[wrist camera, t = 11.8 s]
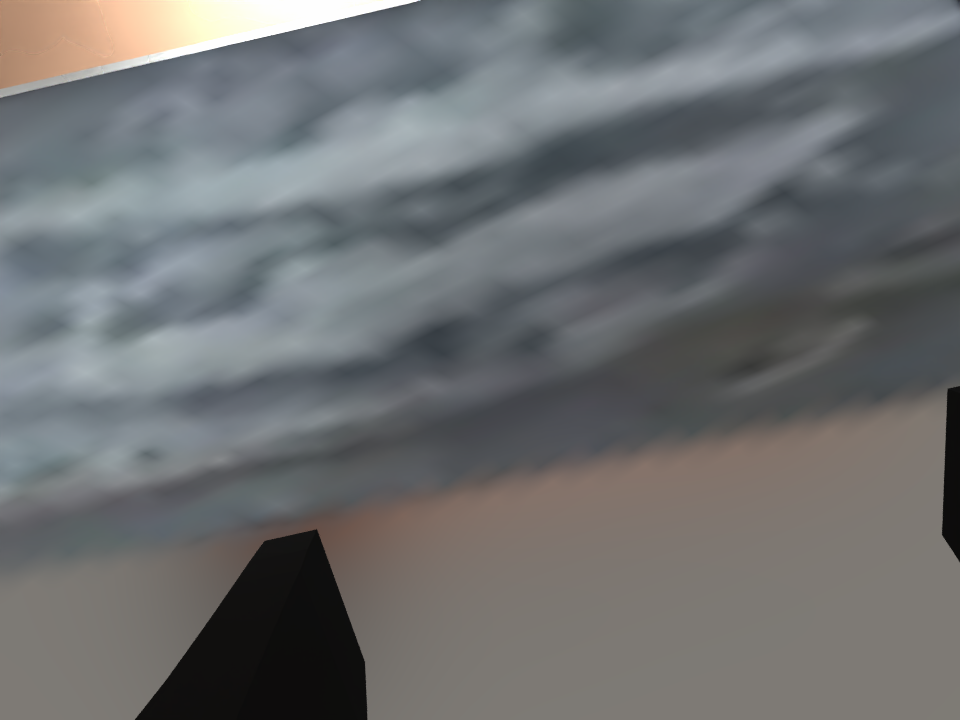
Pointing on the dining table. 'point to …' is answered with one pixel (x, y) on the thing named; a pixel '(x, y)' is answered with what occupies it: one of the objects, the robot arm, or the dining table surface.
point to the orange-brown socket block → (140, 32)
